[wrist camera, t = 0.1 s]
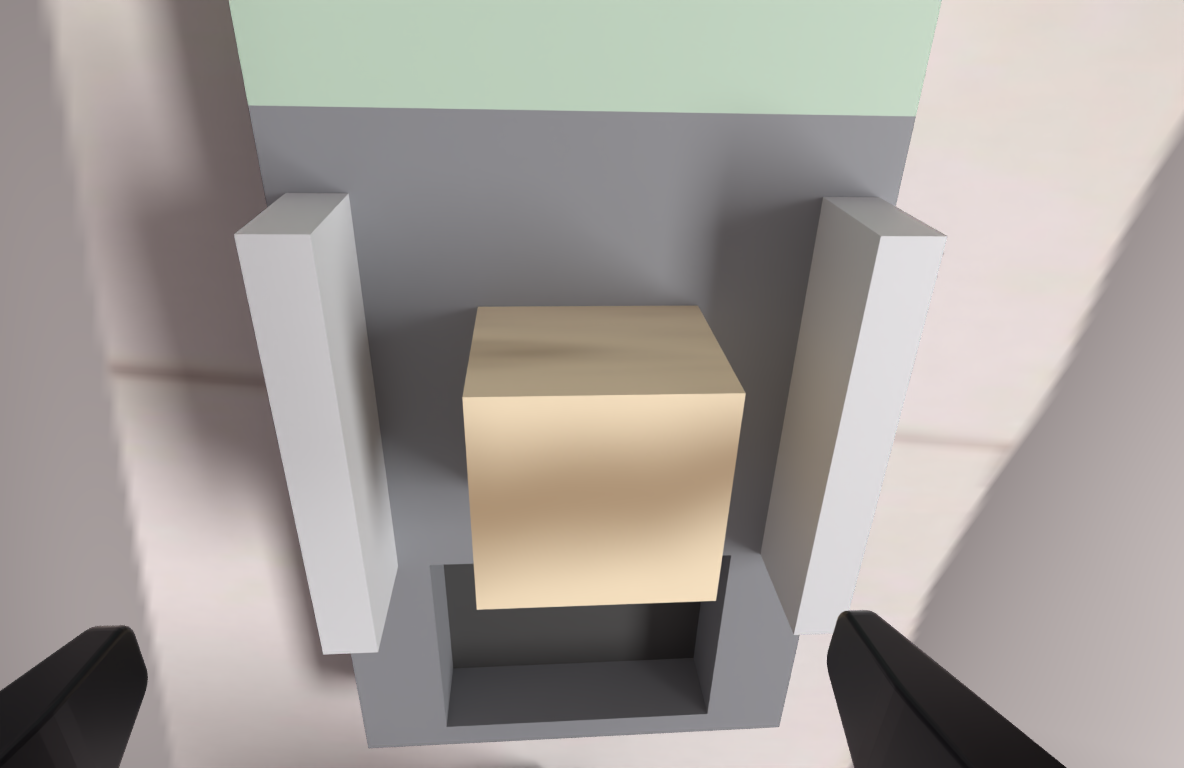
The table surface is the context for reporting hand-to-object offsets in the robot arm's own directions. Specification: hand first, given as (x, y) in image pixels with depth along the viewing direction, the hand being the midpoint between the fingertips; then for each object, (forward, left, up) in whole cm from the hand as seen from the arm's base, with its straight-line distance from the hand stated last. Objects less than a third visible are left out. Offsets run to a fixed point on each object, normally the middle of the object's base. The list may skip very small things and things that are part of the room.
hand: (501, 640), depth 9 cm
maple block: (-3, -2, -12) cm, 12 cm away
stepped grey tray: (-2, -2, -14) cm, 15 cm away
